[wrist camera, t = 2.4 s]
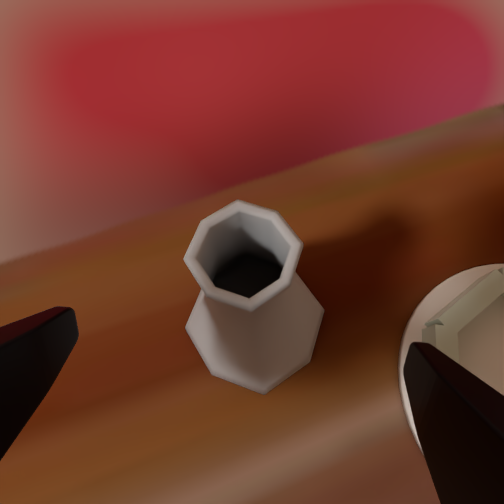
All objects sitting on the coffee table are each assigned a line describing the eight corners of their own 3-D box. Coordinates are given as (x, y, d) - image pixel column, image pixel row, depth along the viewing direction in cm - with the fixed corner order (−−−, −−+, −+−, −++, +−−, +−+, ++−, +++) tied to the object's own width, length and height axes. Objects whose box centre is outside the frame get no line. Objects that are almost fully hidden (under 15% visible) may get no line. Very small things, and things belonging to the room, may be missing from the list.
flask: (162, 331, 19) (59, 274, 9) (244, 236, 21) (226, 111, 11) (267, 422, 17) (269, 463, 7) (346, 308, 19) (425, 227, 9)
